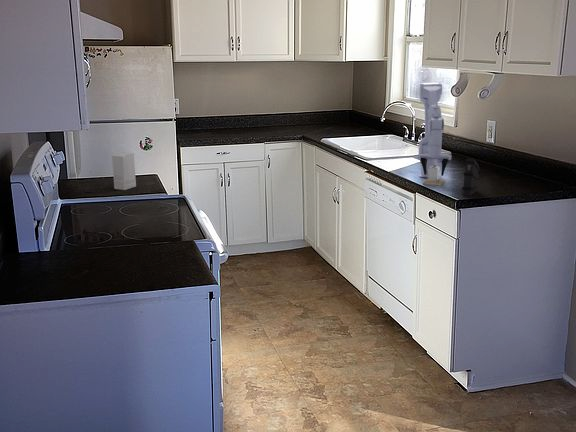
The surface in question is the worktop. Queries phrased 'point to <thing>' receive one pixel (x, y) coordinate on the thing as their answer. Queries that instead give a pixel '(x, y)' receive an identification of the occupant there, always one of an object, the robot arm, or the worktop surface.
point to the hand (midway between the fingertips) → (433, 174)
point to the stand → (433, 182)
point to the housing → (433, 173)
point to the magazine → (470, 177)
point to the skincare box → (124, 171)
